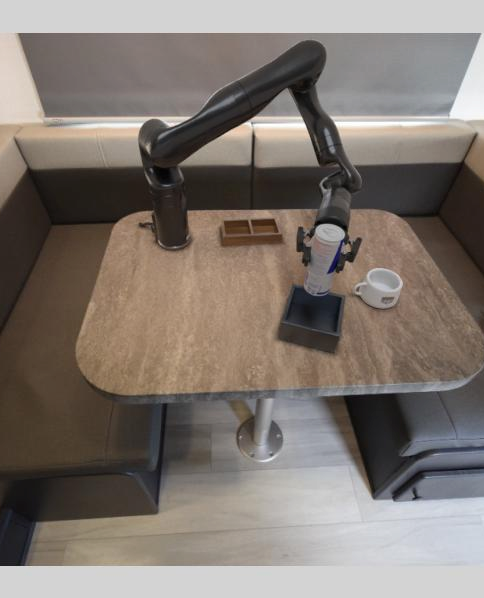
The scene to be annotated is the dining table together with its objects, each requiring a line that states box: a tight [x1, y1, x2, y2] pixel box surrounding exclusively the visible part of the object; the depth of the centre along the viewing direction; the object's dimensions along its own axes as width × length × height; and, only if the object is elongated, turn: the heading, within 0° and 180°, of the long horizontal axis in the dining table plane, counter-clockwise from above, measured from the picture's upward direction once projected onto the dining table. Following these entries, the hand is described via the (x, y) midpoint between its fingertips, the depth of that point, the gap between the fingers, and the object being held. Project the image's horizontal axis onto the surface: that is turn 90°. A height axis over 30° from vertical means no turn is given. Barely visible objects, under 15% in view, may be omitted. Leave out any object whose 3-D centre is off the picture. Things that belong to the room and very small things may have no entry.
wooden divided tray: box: [220, 216, 283, 246], centre depth 106 cm, size 9×17×3 cm, turn 97°
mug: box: [352, 267, 404, 310], centre depth 88 cm, size 12×10×6 cm
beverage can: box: [303, 224, 345, 296], centre depth 71 cm, size 6×6×15 cm
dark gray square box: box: [277, 283, 346, 354], centre depth 81 cm, size 13×13×6 cm
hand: (322, 266), depth 69 cm, fingers closed on beverage can, 5 cm apart
